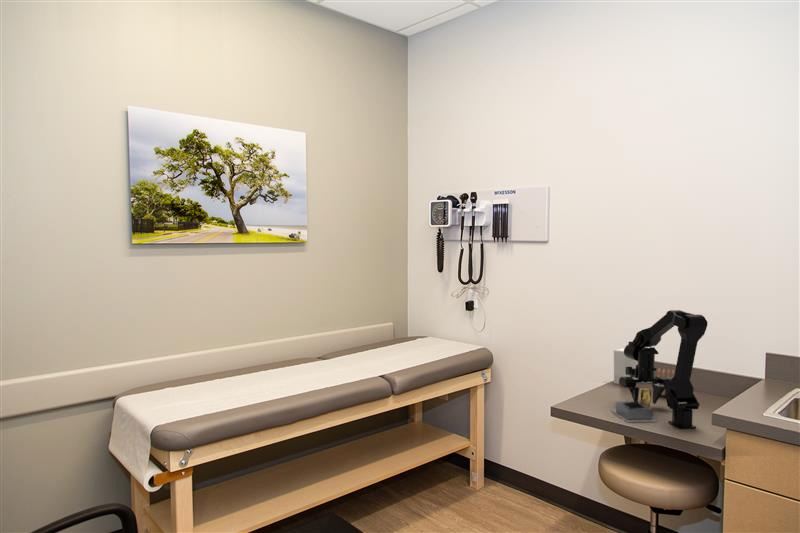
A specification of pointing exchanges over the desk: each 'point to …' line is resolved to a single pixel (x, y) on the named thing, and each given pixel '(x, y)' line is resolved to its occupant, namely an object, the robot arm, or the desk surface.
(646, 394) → the bushing
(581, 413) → the desk surface
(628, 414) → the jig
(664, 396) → the ammunition clip
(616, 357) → the skincare box
